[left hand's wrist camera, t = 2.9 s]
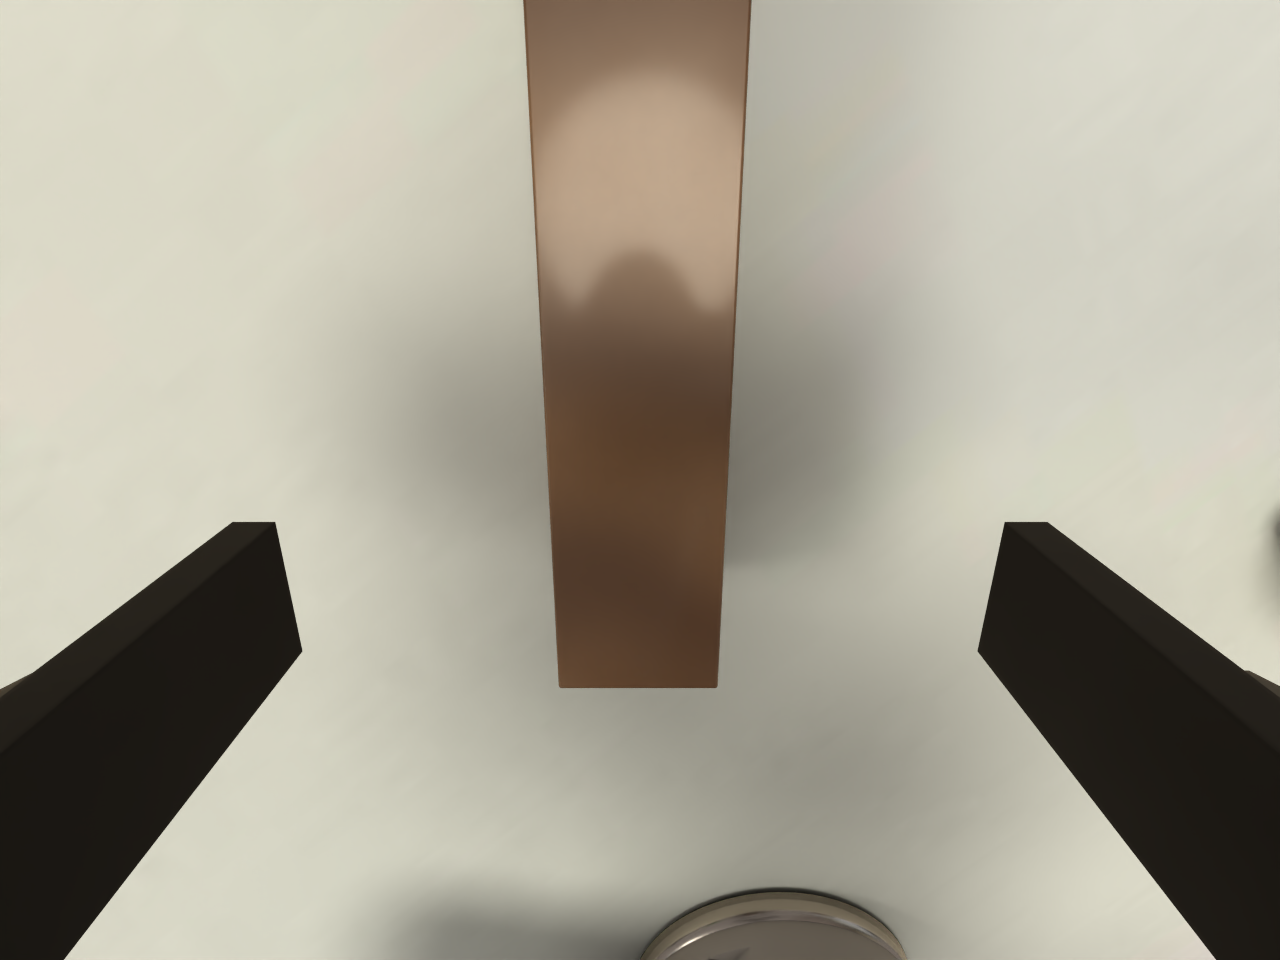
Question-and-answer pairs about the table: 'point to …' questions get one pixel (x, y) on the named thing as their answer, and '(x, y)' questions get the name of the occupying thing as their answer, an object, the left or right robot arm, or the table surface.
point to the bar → (637, 323)
